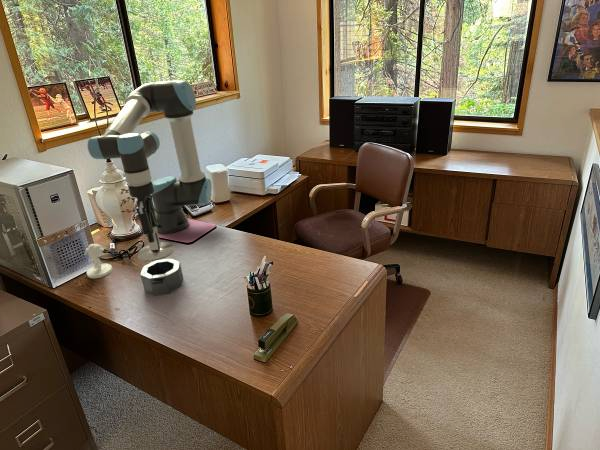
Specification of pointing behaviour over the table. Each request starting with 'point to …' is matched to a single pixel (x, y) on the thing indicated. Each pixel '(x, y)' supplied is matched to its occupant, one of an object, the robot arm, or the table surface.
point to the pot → (162, 277)
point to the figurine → (97, 262)
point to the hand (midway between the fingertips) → (155, 246)
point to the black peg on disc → (156, 251)
